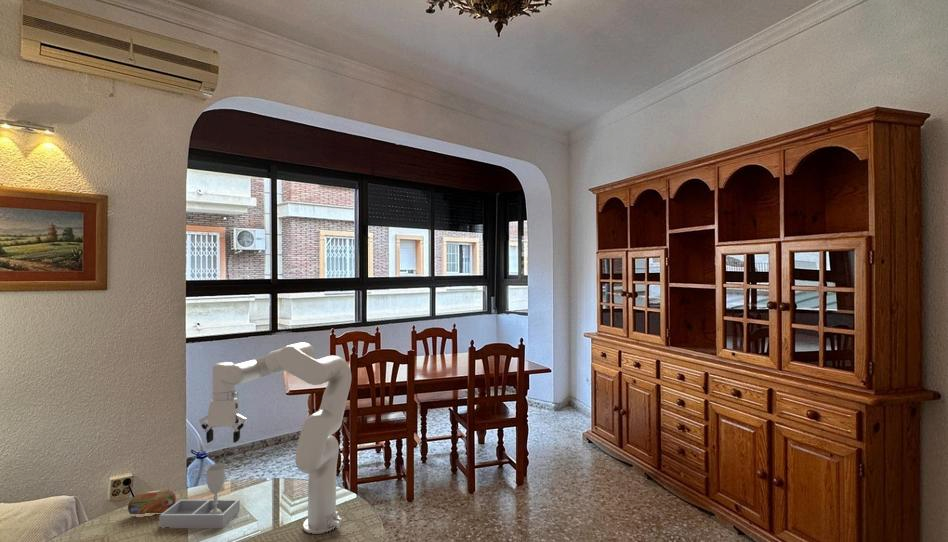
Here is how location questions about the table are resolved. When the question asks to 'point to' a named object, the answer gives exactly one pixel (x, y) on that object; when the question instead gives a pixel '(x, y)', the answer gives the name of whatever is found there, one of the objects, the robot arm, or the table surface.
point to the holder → (199, 514)
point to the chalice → (215, 482)
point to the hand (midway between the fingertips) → (223, 441)
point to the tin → (151, 502)
